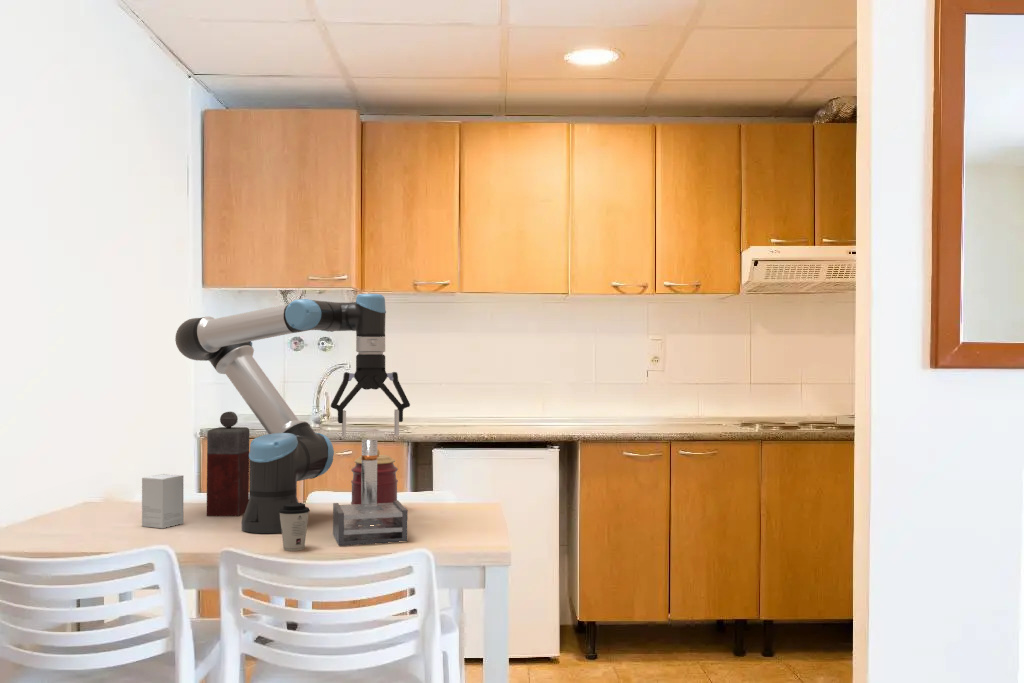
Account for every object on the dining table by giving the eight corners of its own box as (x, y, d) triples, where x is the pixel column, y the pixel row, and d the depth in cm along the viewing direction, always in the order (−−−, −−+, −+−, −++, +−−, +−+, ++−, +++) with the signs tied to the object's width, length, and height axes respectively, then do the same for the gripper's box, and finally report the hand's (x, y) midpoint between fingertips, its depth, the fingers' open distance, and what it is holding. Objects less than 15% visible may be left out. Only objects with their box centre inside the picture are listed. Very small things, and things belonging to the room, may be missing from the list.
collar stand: (338, 545, 202) (338, 513, 203) (332, 533, 216) (333, 503, 216) (407, 542, 207) (407, 510, 207) (397, 530, 220) (397, 500, 221)
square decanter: (251, 508, 249) (252, 410, 249) (239, 516, 238) (239, 412, 238) (220, 508, 249) (221, 409, 249) (206, 516, 238) (207, 412, 238)
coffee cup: (307, 551, 196) (307, 507, 197) (275, 552, 196) (275, 507, 196) (311, 545, 203) (312, 501, 203) (281, 545, 203) (281, 502, 203)
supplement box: (184, 523, 227) (184, 475, 227) (162, 529, 220) (162, 478, 220) (163, 521, 230) (163, 473, 230) (140, 526, 223) (141, 476, 224)
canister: (383, 505, 256) (383, 444, 256) (406, 512, 246) (406, 448, 246) (342, 510, 248) (343, 447, 248) (364, 517, 238) (365, 452, 238)
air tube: (361, 526, 225) (362, 440, 225) (360, 523, 229) (360, 439, 229) (377, 525, 226) (378, 440, 226) (375, 522, 230) (376, 438, 230)
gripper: (323, 353, 221) (322, 438, 220) (420, 353, 228) (420, 435, 228) (320, 353, 228) (320, 435, 228) (415, 353, 235) (415, 432, 235)
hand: (370, 435), depth 228 cm, fingers open, 13 cm apart
